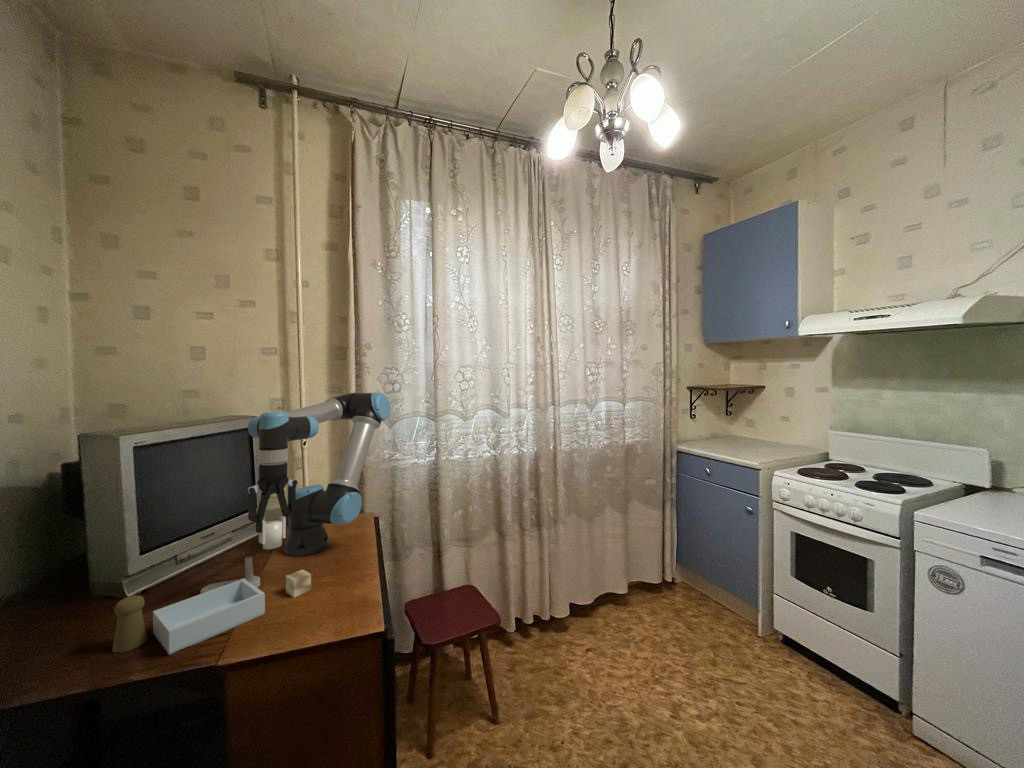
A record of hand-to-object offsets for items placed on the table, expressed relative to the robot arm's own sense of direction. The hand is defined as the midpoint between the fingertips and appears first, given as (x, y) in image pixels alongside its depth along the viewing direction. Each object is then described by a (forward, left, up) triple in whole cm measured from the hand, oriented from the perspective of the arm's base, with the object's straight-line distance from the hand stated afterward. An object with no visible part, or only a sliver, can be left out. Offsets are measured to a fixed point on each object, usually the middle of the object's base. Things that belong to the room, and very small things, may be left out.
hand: (272, 539), depth 118 cm
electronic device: (+8, -10, -16) cm, 20 cm away
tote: (+17, +4, -15) cm, 23 cm away
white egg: (0, 0, -2) cm, 2 cm away
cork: (+31, -2, -16) cm, 35 cm away
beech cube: (-4, +7, -16) cm, 18 cm away
